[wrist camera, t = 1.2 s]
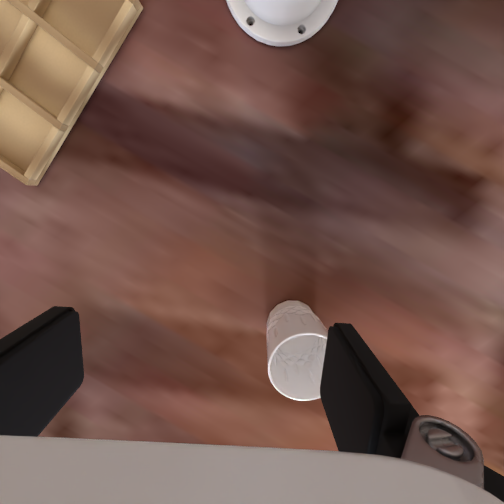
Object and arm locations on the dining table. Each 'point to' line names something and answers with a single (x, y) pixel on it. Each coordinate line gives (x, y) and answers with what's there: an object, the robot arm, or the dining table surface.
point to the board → (52, 72)
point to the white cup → (295, 350)
